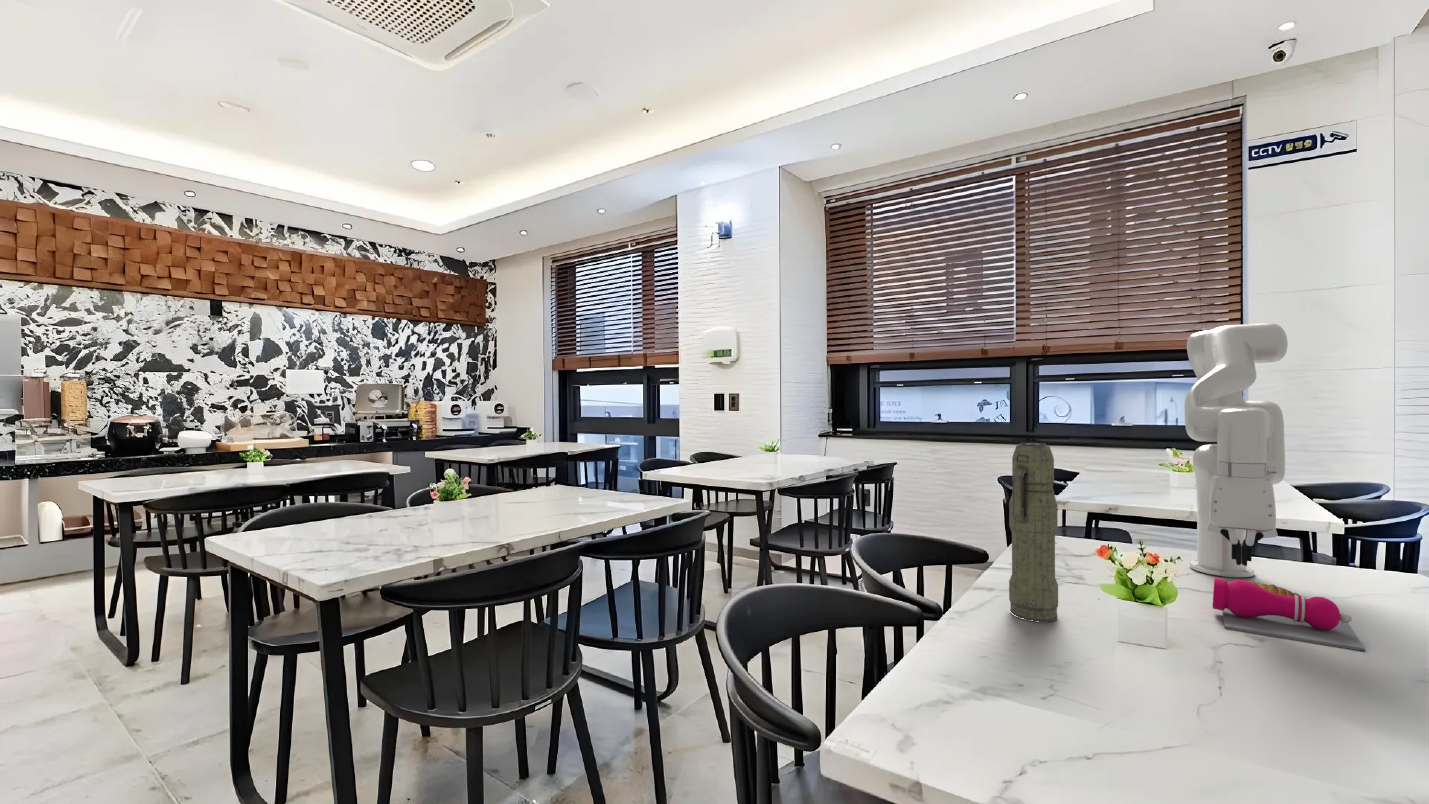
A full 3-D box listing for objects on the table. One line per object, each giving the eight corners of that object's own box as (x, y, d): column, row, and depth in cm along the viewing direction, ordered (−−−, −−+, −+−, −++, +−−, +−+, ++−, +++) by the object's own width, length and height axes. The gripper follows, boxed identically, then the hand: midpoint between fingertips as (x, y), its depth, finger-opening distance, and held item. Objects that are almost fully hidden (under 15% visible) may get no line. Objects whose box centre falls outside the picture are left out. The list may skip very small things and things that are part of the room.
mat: (1221, 606, 134) (1221, 604, 134) (1347, 625, 123) (1347, 622, 123) (1224, 628, 122) (1224, 625, 122) (1365, 651, 111) (1365, 648, 111)
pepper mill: (1214, 578, 133) (1349, 602, 121) (1212, 613, 132) (1348, 641, 119) (1214, 572, 128) (1355, 596, 116) (1212, 608, 126) (1354, 637, 114)
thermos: (998, 616, 130) (997, 444, 129) (1023, 603, 138) (1022, 440, 137) (1044, 628, 123) (1043, 446, 123) (1067, 613, 131) (1067, 442, 131)
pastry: (1304, 603, 136) (1305, 586, 136) (1306, 612, 131) (1306, 594, 131) (1247, 594, 142) (1247, 577, 142) (1246, 603, 137) (1246, 585, 137)
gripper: (1290, 471, 125) (1289, 565, 125) (1194, 466, 134) (1193, 554, 134) (1295, 475, 119) (1294, 574, 119) (1194, 470, 127) (1194, 562, 128)
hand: (1241, 563), depth 126 cm, fingers closed
